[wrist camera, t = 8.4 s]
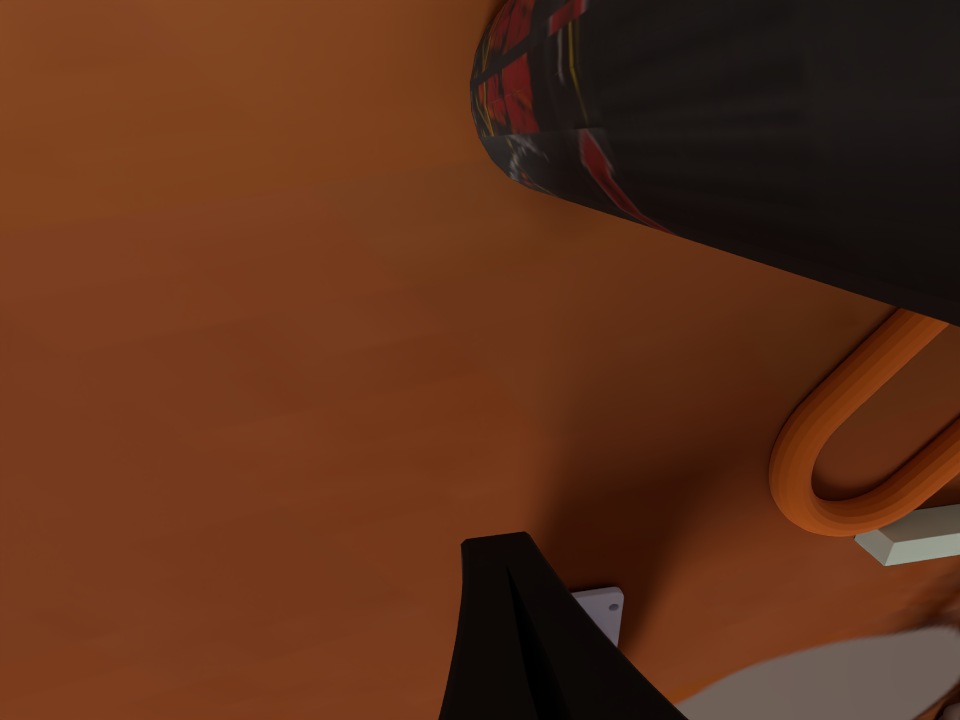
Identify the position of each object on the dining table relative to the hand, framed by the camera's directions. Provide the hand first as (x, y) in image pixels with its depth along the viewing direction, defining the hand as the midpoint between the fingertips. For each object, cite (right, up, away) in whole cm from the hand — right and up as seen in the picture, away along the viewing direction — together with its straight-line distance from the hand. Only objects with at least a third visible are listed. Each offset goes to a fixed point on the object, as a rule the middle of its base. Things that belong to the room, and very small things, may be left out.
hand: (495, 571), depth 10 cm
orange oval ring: (+19, +3, +13) cm, 24 cm away
